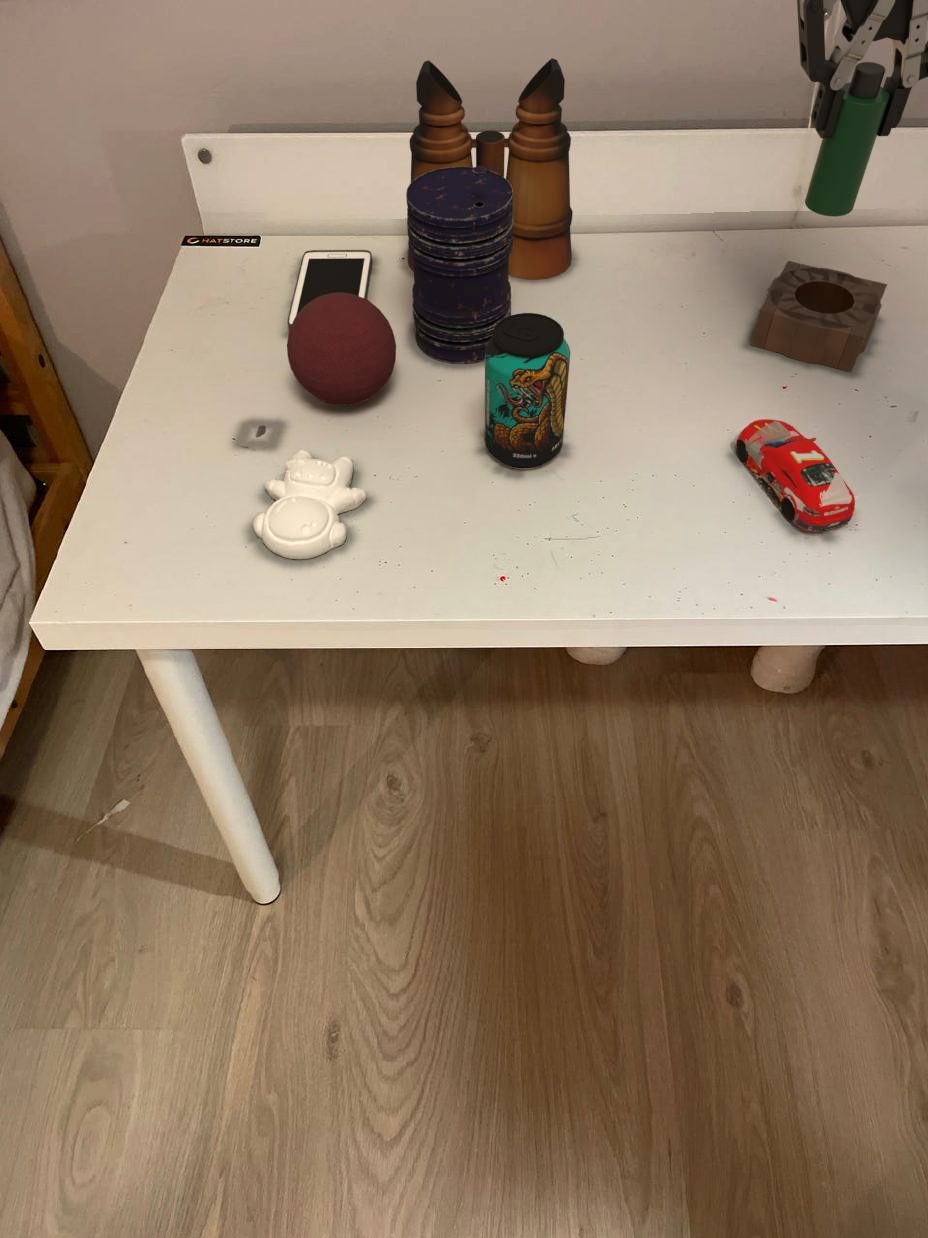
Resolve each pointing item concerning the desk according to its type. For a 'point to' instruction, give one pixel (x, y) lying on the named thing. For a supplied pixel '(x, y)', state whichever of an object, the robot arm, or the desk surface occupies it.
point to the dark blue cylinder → (459, 259)
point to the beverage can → (526, 390)
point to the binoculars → (530, 167)
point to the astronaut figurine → (308, 507)
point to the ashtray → (818, 315)
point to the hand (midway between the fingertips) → (851, 131)
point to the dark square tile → (260, 431)
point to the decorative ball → (341, 349)
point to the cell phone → (330, 276)
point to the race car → (796, 475)
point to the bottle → (849, 143)
